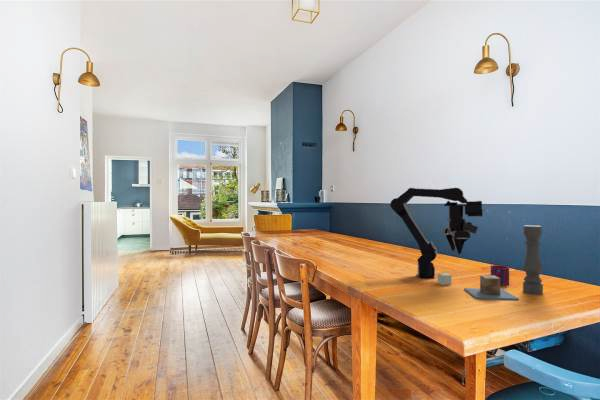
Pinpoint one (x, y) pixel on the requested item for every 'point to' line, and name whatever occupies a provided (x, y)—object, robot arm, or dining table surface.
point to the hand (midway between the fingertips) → (456, 252)
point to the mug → (501, 273)
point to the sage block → (444, 279)
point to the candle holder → (532, 260)
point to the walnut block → (490, 285)
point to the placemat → (479, 295)
